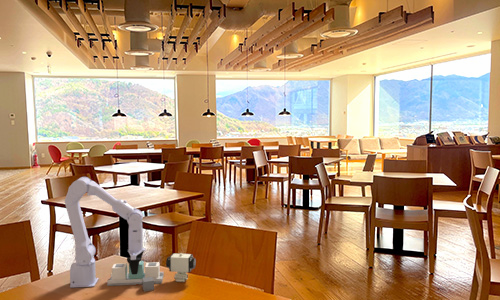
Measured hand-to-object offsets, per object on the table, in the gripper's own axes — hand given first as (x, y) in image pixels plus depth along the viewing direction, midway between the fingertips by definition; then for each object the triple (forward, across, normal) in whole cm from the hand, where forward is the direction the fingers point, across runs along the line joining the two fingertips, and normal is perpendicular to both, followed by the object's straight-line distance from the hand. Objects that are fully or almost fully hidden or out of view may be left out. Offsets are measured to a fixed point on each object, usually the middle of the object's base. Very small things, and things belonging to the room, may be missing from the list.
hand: (135, 270), depth 169 cm
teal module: (+4, 0, 0) cm, 4 cm away
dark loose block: (+4, -9, -6) cm, 12 cm away
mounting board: (+4, 0, 0) cm, 4 cm away
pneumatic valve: (+4, -2, -19) cm, 20 cm away
